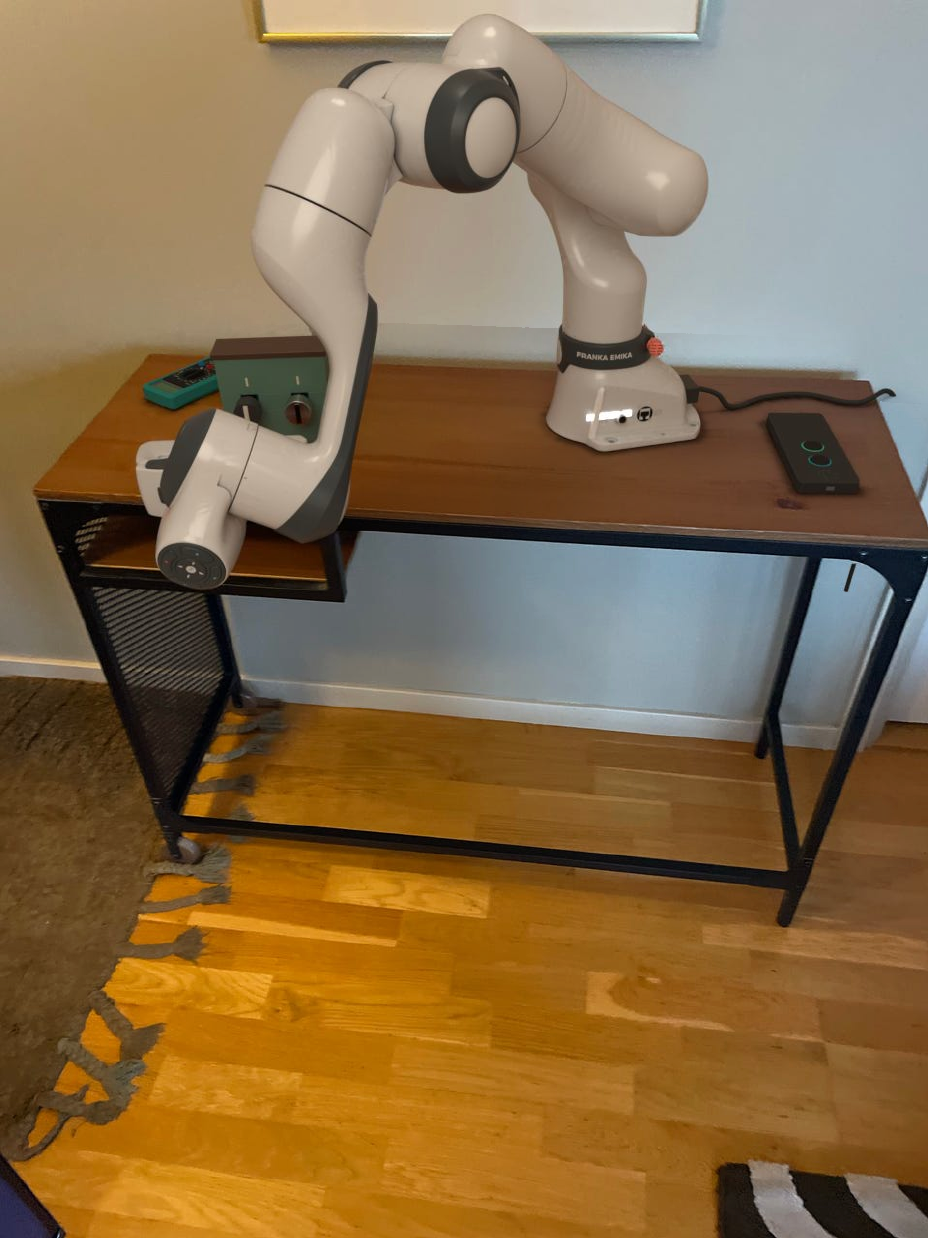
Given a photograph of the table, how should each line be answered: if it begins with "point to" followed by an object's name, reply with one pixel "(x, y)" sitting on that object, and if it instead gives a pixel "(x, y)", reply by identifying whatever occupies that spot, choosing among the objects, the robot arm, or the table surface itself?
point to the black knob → (248, 408)
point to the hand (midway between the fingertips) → (233, 431)
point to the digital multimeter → (183, 385)
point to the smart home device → (811, 454)
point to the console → (273, 377)
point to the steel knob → (298, 409)
